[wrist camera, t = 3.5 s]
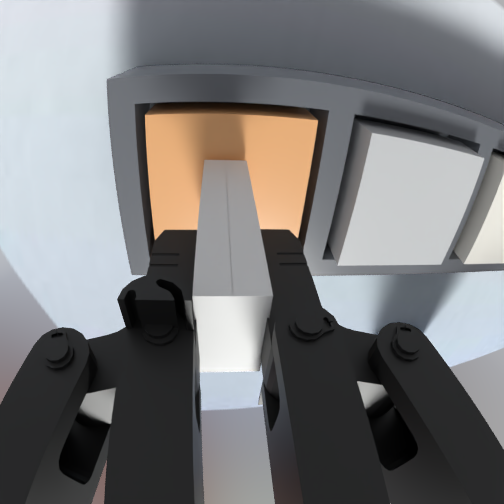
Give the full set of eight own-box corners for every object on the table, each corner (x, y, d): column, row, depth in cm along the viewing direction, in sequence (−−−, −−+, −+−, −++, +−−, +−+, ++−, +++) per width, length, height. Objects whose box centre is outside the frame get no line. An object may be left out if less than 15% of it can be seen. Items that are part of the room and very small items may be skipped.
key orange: (304, 108, 12) (318, 120, 10) (286, 229, 16) (294, 254, 14) (155, 103, 11) (144, 114, 10) (162, 227, 15) (156, 253, 13)
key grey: (459, 141, 12) (484, 158, 11) (424, 241, 16) (441, 264, 14) (352, 117, 12) (372, 132, 10) (325, 238, 15) (337, 265, 14)
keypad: (520, 132, 15) (563, 160, 12) (482, 233, 21) (513, 269, 17) (138, 66, 12) (106, 79, 9) (147, 222, 18) (131, 274, 14)
